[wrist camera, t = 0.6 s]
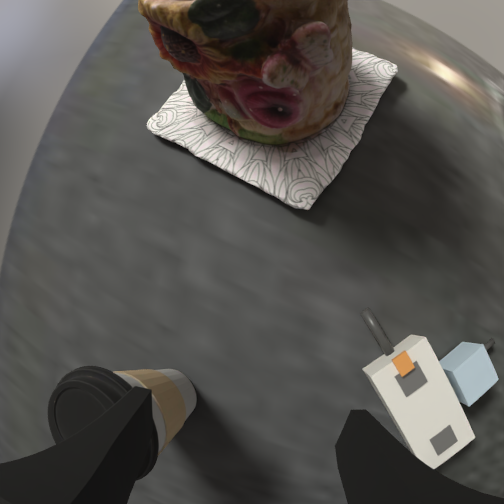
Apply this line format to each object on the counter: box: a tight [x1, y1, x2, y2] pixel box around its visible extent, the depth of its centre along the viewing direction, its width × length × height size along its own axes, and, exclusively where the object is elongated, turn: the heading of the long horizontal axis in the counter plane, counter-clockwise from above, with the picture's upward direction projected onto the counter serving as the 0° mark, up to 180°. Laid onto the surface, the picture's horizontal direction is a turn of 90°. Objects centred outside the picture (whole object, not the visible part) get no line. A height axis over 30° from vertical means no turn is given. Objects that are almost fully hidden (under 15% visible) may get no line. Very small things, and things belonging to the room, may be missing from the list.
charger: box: [439, 338, 499, 407], centre depth 24 cm, size 9×4×5 cm, turn 121°
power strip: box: [360, 308, 475, 469], centre depth 25 cm, size 6×18×5 cm, turn 31°
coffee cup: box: [48, 366, 197, 480], centre depth 24 cm, size 9×9×15 cm
